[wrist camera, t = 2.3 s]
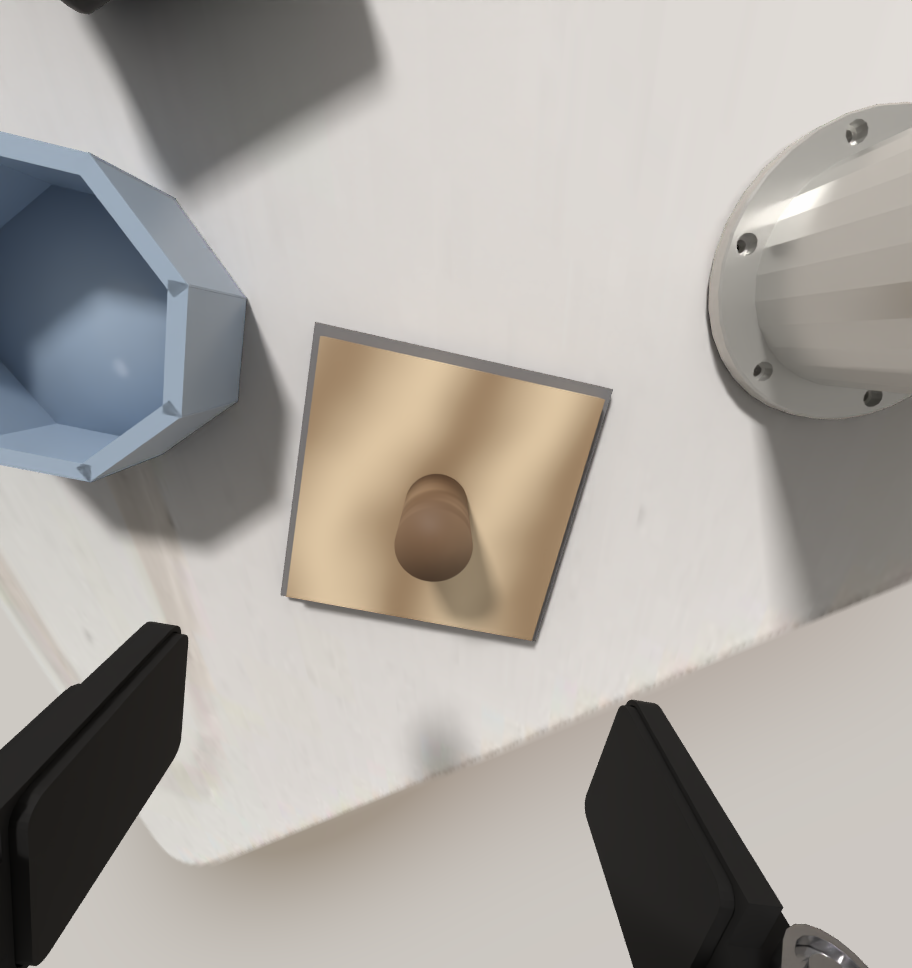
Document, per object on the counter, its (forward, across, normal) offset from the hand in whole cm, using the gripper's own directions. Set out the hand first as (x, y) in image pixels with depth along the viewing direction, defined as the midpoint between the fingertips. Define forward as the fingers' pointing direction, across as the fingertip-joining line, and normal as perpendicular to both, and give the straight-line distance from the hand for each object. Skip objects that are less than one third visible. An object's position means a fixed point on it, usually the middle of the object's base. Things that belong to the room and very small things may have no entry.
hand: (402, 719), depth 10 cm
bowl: (+15, +15, -6) cm, 22 cm away
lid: (+14, -1, 0) cm, 14 cm away
